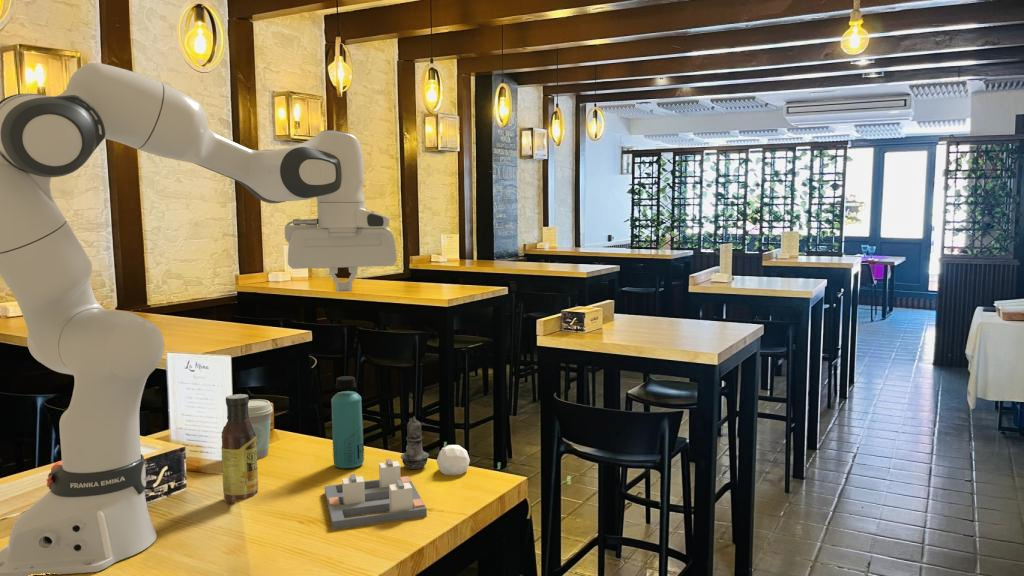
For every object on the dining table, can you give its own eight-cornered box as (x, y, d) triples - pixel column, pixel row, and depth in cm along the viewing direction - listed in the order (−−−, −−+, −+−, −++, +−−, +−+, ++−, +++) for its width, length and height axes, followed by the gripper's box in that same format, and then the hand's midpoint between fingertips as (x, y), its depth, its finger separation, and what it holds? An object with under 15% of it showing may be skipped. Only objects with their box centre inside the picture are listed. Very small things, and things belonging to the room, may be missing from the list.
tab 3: (392, 518, 125) (391, 487, 124) (389, 512, 127) (388, 481, 127) (412, 515, 126) (412, 484, 125) (409, 509, 128) (409, 479, 128)
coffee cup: (226, 461, 158) (224, 407, 157) (247, 448, 167) (244, 398, 166) (262, 462, 157) (260, 409, 156) (281, 450, 165) (279, 399, 164)
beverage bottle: (361, 475, 149) (358, 380, 147) (329, 475, 149) (325, 380, 147) (367, 464, 155) (365, 373, 153) (337, 465, 155) (334, 373, 153)
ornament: (471, 481, 145) (450, 456, 142) (444, 487, 148) (424, 463, 145) (479, 456, 150) (460, 432, 147) (454, 463, 153) (434, 440, 150)
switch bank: (332, 535, 120) (332, 519, 120) (324, 498, 136) (324, 484, 136) (426, 522, 126) (426, 506, 125) (408, 488, 142) (408, 474, 141)
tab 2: (381, 493, 136) (381, 464, 135) (379, 488, 139) (378, 460, 138) (400, 491, 137) (400, 462, 137) (398, 486, 140) (397, 458, 139)
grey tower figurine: (424, 478, 147) (422, 420, 146) (396, 476, 148) (395, 419, 147) (432, 468, 153) (431, 413, 152) (406, 466, 154) (405, 411, 153)
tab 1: (344, 511, 128) (343, 480, 127) (343, 505, 131) (342, 475, 130) (365, 508, 129) (364, 478, 128) (363, 502, 132) (362, 472, 131)
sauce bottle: (255, 504, 134) (250, 399, 132) (220, 506, 133) (215, 401, 131) (261, 491, 141) (257, 391, 139) (228, 493, 140) (223, 393, 138)
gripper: (284, 218, 130) (287, 295, 131) (397, 218, 137) (399, 290, 138) (283, 219, 136) (286, 291, 137) (391, 218, 143) (393, 287, 144)
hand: (343, 291), depth 138 cm, fingers closed
